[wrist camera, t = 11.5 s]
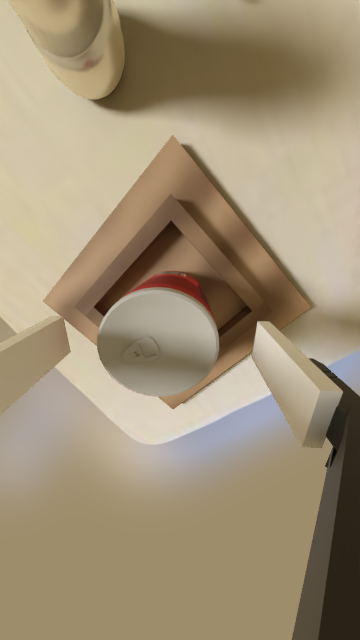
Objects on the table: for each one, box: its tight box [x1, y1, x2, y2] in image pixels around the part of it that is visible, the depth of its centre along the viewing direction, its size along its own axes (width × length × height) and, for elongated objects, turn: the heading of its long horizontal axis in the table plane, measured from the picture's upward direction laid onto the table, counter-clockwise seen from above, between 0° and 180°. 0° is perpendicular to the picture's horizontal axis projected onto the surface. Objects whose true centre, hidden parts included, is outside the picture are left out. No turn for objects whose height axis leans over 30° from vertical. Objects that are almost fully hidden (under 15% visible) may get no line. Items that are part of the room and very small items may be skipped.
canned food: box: [97, 271, 219, 397], centre depth 18 cm, size 8×8×11 cm
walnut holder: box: [43, 135, 311, 409], centre depth 23 cm, size 22×22×4 cm
